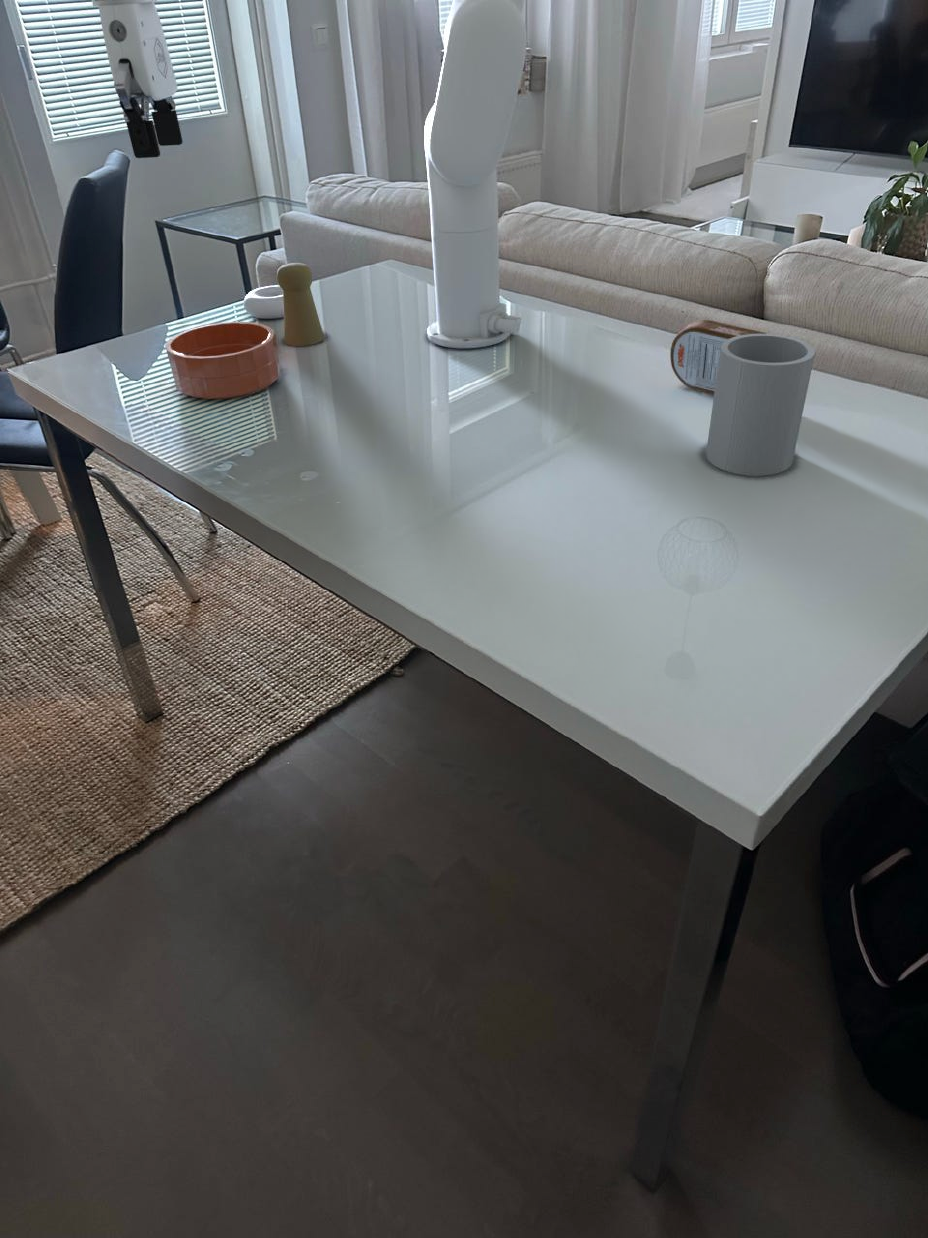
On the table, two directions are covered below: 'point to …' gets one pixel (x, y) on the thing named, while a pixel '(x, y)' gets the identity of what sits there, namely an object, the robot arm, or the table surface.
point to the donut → (265, 302)
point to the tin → (701, 352)
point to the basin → (224, 360)
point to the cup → (758, 403)
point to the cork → (299, 306)
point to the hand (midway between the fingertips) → (160, 150)
